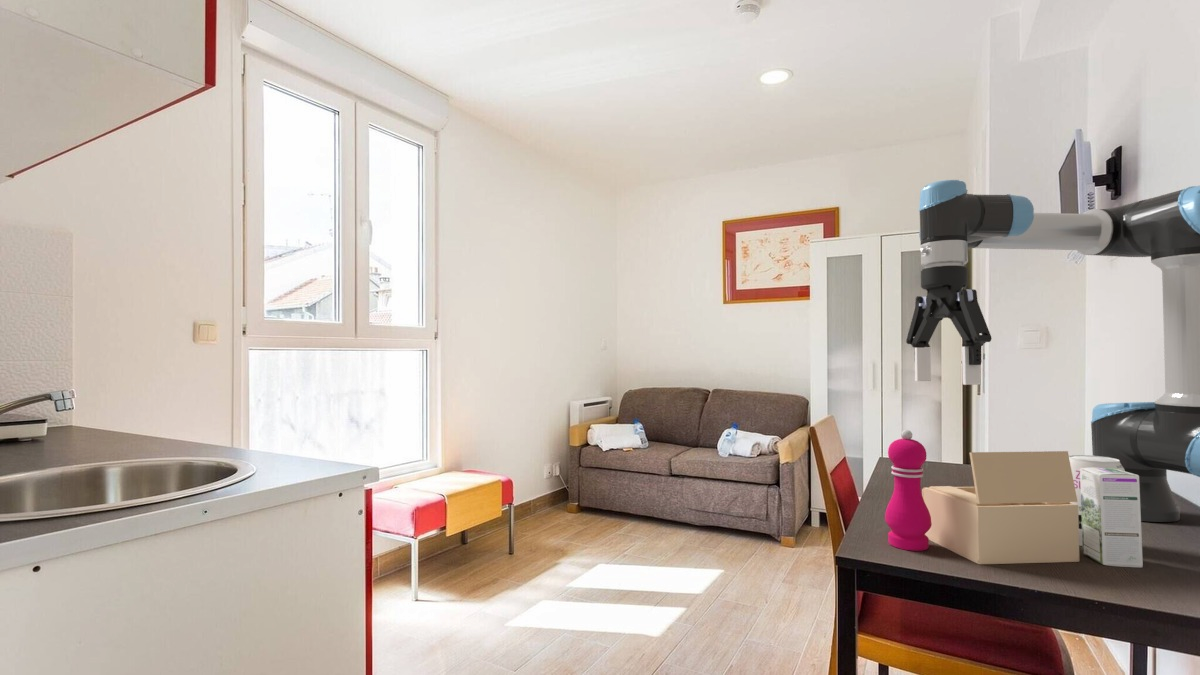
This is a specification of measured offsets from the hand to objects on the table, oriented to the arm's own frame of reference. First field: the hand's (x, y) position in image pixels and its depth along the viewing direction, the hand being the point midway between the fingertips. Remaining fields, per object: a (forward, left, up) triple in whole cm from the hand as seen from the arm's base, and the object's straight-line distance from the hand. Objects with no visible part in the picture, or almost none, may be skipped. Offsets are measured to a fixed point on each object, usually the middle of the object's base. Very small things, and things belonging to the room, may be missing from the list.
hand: (945, 383), depth 110 cm
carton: (-4, +7, -28) cm, 29 cm away
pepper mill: (+10, +4, -28) cm, 30 cm away
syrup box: (-18, +14, -28) cm, 36 cm away
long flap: (-4, +14, -19) cm, 24 cm away
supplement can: (-23, +6, -28) cm, 37 cm away
